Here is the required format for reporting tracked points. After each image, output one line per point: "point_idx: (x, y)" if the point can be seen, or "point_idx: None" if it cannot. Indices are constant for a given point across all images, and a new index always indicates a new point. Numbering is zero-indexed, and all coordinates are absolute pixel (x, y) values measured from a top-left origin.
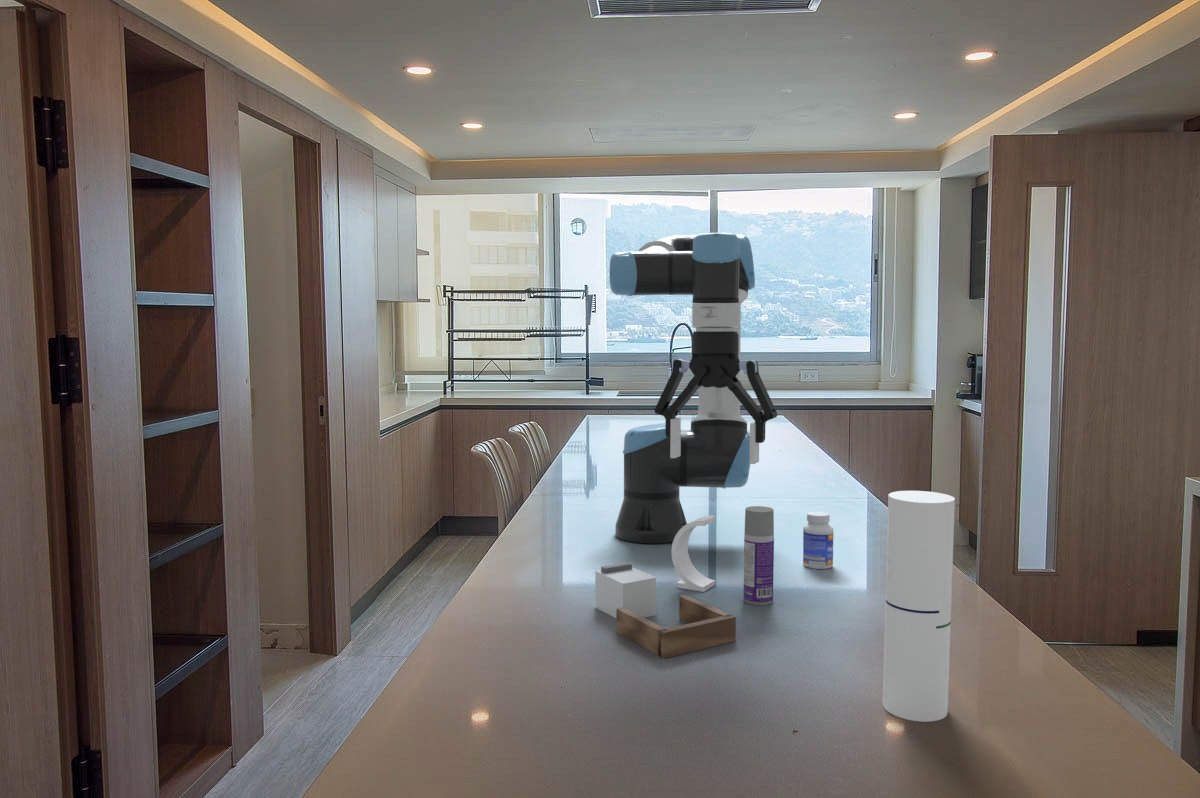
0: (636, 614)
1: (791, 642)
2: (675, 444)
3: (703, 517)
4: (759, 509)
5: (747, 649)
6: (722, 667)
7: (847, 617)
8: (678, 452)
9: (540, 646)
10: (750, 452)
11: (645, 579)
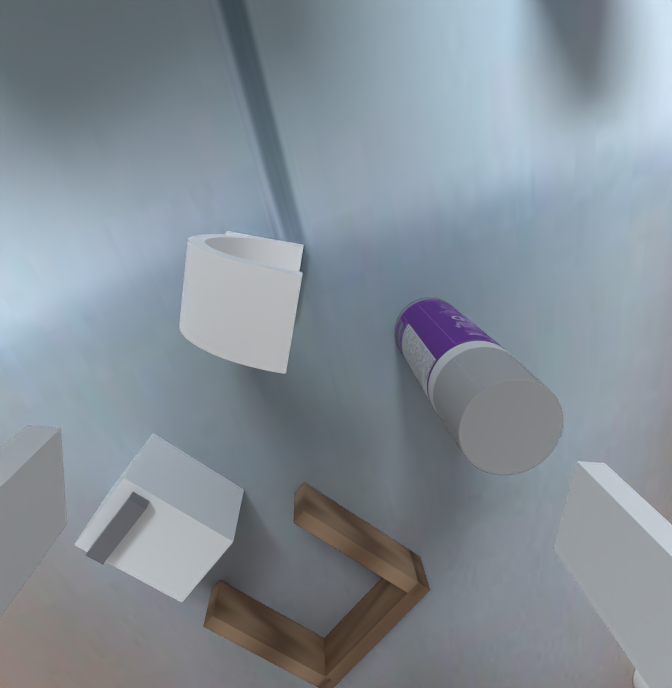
0: (252, 639)
1: (512, 529)
2: (15, 575)
3: (259, 295)
4: (511, 435)
5: (444, 580)
6: (418, 650)
7: (616, 369)
8: (48, 479)
9: (124, 678)
10: (594, 601)
11: (216, 561)
